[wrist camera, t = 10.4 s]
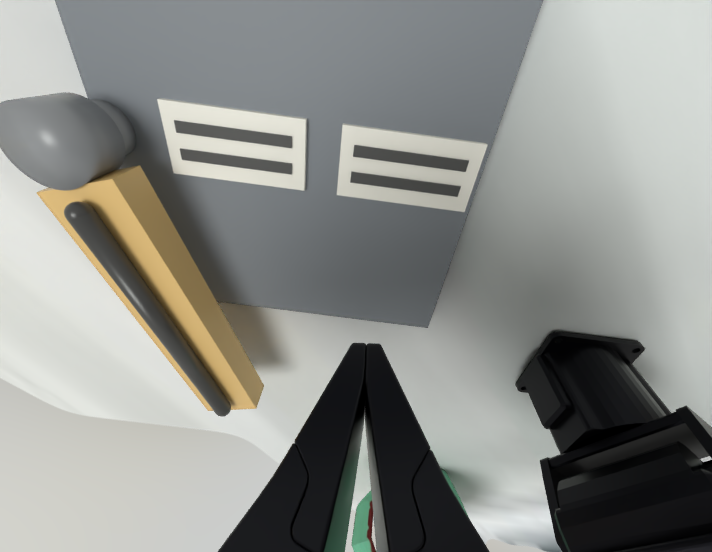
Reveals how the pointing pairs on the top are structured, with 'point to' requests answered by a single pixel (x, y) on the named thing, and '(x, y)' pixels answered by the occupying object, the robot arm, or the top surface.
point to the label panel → (308, 135)
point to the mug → (364, 519)
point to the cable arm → (128, 240)
